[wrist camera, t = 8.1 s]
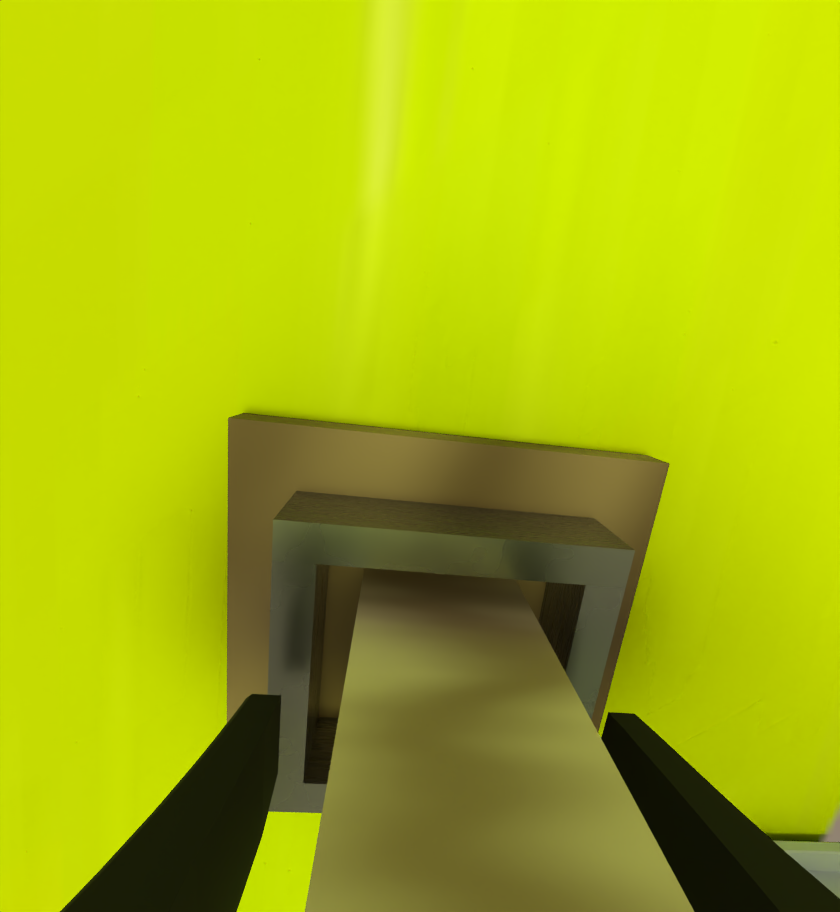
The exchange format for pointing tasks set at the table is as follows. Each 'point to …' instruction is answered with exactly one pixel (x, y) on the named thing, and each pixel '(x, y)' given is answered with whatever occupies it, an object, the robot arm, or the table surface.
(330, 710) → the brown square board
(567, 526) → the gray square frame
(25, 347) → the table surface
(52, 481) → the table surface
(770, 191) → the table surface
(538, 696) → the tan rectangular block
